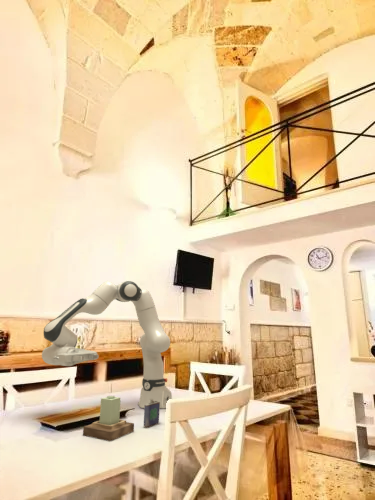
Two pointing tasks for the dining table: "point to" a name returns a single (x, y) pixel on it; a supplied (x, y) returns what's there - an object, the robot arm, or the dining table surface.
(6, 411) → the dining table surface
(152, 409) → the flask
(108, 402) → the pillar
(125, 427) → the base
